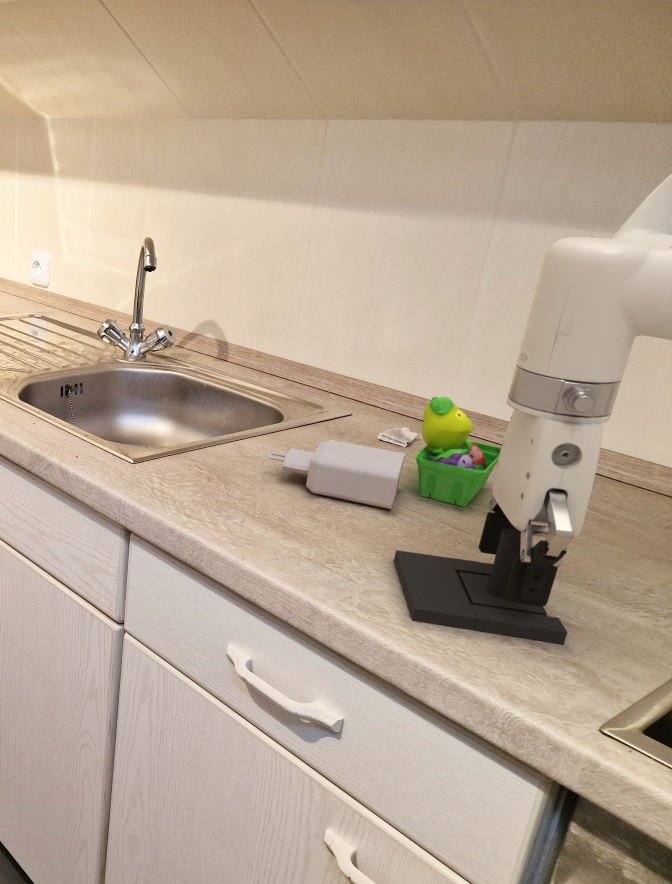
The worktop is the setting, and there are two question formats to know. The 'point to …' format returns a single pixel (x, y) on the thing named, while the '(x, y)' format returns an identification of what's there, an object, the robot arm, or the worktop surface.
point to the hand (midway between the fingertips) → (509, 576)
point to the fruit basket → (452, 455)
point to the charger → (348, 471)
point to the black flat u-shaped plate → (464, 599)
